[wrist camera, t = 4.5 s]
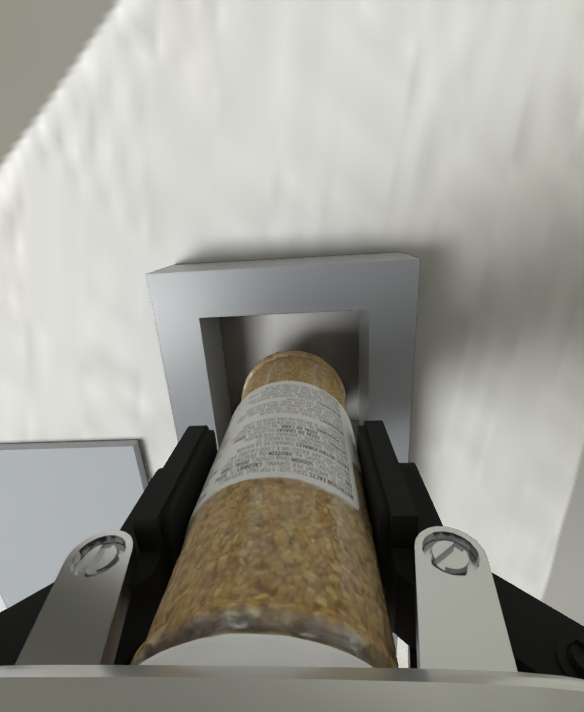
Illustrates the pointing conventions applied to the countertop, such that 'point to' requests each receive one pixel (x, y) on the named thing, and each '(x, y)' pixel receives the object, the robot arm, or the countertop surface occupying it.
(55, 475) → the mat
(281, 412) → the sprinkles bottle
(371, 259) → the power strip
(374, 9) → the countertop surface
